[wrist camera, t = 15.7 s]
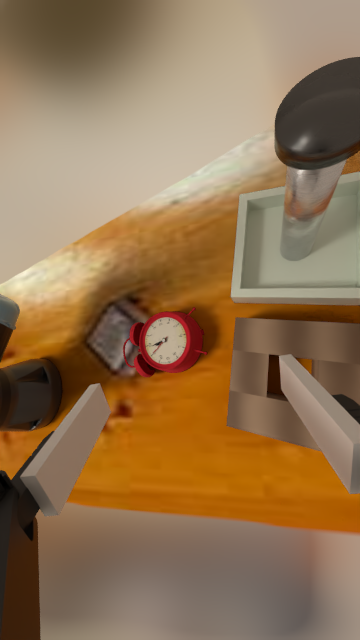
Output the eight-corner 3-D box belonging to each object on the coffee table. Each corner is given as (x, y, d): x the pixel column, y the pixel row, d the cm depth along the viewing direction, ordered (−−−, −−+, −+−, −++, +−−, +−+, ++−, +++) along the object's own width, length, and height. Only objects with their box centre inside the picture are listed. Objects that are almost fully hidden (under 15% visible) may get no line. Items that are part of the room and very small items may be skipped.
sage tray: (234, 302, 32) (230, 296, 28) (242, 209, 34) (239, 194, 30) (364, 305, 25) (378, 298, 22) (365, 189, 27) (378, 167, 24)
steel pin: (271, 268, 29) (272, 161, 13) (273, 230, 30) (277, 84, 14) (320, 266, 27) (396, 129, 11) (321, 224, 28) (394, 37, 11)
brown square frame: (231, 417, 29) (226, 425, 26) (239, 322, 31) (235, 317, 27) (353, 447, 23) (369, 464, 20) (354, 328, 25) (369, 324, 22)
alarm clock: (211, 363, 28) (113, 387, 30) (213, 364, 34) (131, 384, 36) (193, 296, 31) (104, 322, 33) (197, 307, 37) (122, 329, 39)
